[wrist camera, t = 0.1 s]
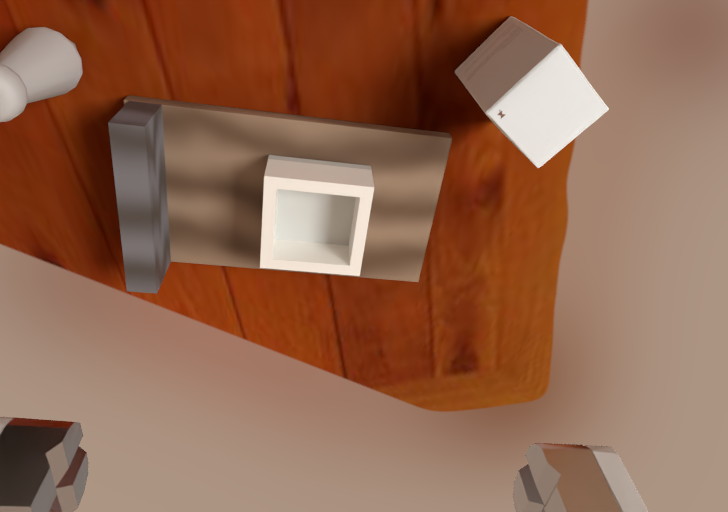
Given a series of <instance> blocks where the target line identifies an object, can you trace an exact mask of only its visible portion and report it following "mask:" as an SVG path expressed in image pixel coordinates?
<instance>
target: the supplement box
mask: <svg viewBox="0 0 728 512" xmlns="http://www.w3.org/2000/svg"><path fill="white" fill-rule="evenodd" d="M454 72H455V74H456V75H457V76H458V78H459V79H460V80H461V82H462V83H463V84H464V86H465V87H466V88H467V90H468V91H469V93H470V94H471V95H472V97H473V98H474V99H475V101H476V102H477V103H478V105H479V106H480V107H481V109H482V110H483V112H484V113H485V114H486V115H487V116H488V117H489V119H490V120H491V121H492V122H493V123H494V124H495V125H496V126H497V127H498V128H499V130H500V131H501V132H502V133H503V134H504V135H505V136H506V137H507V138H508V139H509V140H510V141H511V142H512V143H513V144H514V145H515V146H516V147H517V148H518V149H519V150H520V151H521V152H522V153H523V154H524V155H525V156H526V157H527V158H528V159H529V160H530V161H531V162H532V163H533V164H534V165H535V166H536V167H537V168H540V167H541V166H542V165H543V164H545V163H546V162H547V161H548V160H549V159H551V158H552V157H553V156H554V155H555V154H556V153H558V152H559V151H560V150H561V149H562V148H564V147H565V146H566V145H567V144H568V143H570V142H571V141H572V140H573V139H574V138H576V137H577V136H578V135H579V134H580V133H582V131H584V130H585V129H586V128H587V127H589V126H590V125H591V124H592V123H593V122H595V121H596V120H597V119H598V118H599V117H601V116H602V115H603V114H604V113H605V112H607V111H608V110H609V108H608V107H607V106H606V104H605V103H604V102H603V100H602V99H601V98H600V96H599V95H598V94H597V92H596V91H595V90H594V88H593V87H592V86H591V84H590V83H589V81H588V80H587V79H586V77H585V76H584V74H583V73H582V72H581V70H580V69H579V68H578V66H577V65H576V64H575V62H574V61H573V59H572V58H571V57H570V55H569V54H568V53H567V51H566V50H565V49H564V47H563V46H562V45H561V44H559V43H557V42H555V41H553V40H551V39H549V38H548V37H546V36H544V35H543V34H541V33H540V32H538V31H536V30H535V29H533V28H531V27H530V26H528V25H527V24H525V23H523V22H521V21H519V20H518V19H516V18H514V17H512V16H510V17H509V18H508V19H507V20H506V21H505V22H504V23H503V24H502V25H501V26H500V27H498V28H497V29H496V30H495V31H494V32H493V33H492V34H491V35H490V36H489V37H488V38H487V39H486V40H485V41H484V42H483V43H482V44H481V45H480V46H479V47H478V48H477V49H476V50H475V51H474V52H473V53H472V54H471V55H470V56H469V57H468V58H467V59H466V60H465V61H464V62H463V63H462V64H461V65H460V66H459V67H458V68H457V69H456V70H455V71H454Z"/></svg>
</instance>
